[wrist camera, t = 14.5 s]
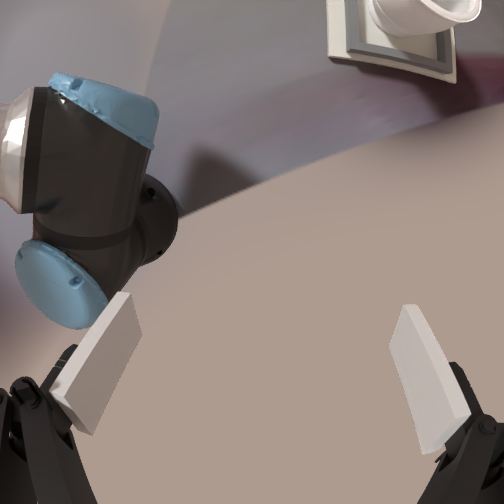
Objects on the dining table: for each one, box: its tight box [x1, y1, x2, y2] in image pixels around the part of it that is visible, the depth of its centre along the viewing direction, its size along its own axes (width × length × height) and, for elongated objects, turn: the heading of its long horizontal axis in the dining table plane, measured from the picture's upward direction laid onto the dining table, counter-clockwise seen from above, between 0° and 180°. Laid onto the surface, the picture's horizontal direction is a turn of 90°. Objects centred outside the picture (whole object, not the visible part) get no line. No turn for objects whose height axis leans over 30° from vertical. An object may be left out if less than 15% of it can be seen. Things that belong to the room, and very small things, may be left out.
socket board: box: [326, 0, 456, 84], centre depth 26 cm, size 20×18×4 cm
